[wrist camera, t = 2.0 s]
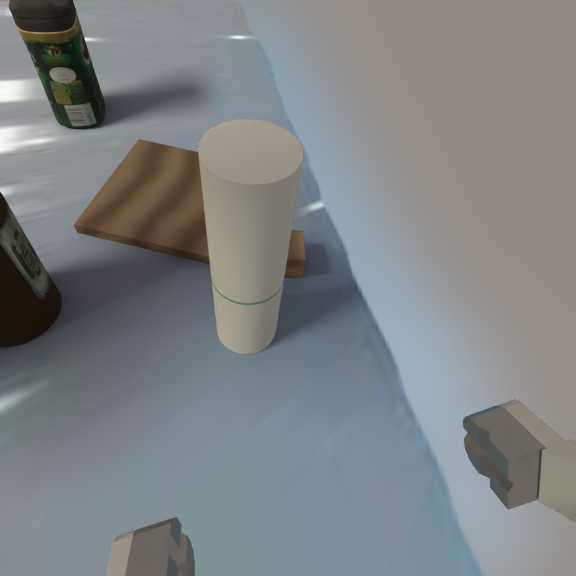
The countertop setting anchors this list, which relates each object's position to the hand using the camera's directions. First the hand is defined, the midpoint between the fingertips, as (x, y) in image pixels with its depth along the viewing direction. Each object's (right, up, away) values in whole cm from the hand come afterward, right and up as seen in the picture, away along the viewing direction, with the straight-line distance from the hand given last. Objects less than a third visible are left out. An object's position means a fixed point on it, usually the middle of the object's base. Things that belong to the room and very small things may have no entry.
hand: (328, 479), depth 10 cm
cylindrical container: (-6, 0, +36) cm, 37 cm away
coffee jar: (-37, +35, +57) cm, 77 cm away
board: (-18, +18, +47) cm, 54 cm away
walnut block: (-2, +9, +43) cm, 44 cm away
